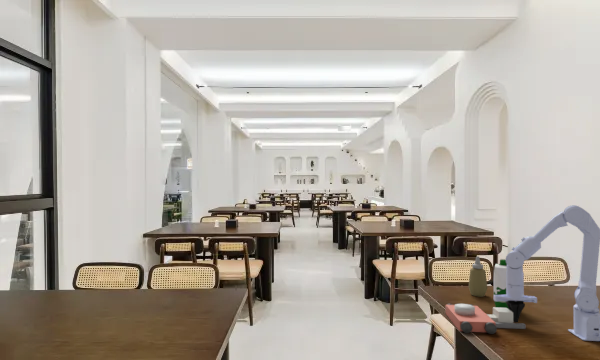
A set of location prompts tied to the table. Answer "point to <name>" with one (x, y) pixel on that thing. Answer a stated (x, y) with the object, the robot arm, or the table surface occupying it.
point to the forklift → (475, 319)
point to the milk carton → (500, 282)
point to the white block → (501, 315)
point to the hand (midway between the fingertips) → (515, 321)
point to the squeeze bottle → (477, 279)
